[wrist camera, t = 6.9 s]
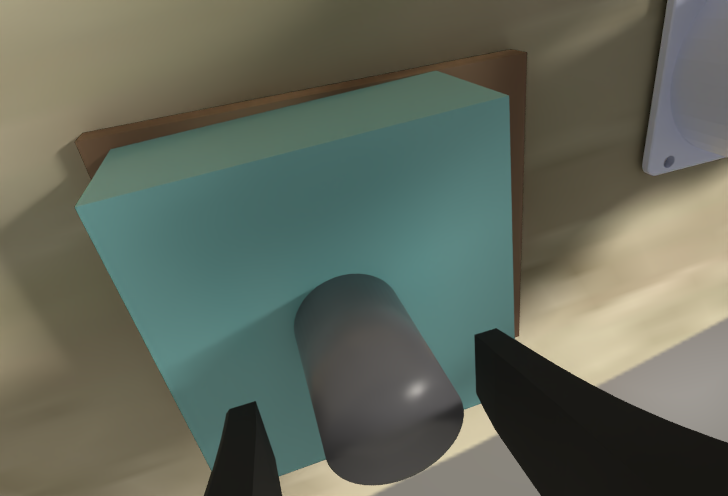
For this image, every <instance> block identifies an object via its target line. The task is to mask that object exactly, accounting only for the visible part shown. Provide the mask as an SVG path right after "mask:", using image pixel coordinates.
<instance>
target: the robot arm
mask: <svg viewBox="0 0 728 496" xmlns="http://www.w3.org/2000/svg"><path fill="white" fill-rule="evenodd" d="M725 157H728V0H668V1H667V7H666V14H665V20H664V27H663V33H662V40H661V46H660V53H659V59H658V66H657V72H656V79H655V85H654V92H653V98H652V105H651V111H650V118H649V124H648V131H647V137H646V144H645V150H644V156H643V163H642V169H643V171H644V172H645V173H647V174H650V175H652V176H655V175H660V174H664V173H668V172H671V171H675V170H679V169H683V168H687V167H691V166H695V165H698V164H702V163H706V162H710V161H714V160H718V159H722V158H725ZM666 158H667V159H666ZM665 160H666V161H665ZM664 161H665V162H664ZM474 340H475V375H476V394H477V396H478V398H479V400H480V402H481V404H482V406H483V408H484V410H485V412H486V414H487V415H488V417H489V419H490V421H491V423H492V425H493V426H494V428H495V430H496V431H497V433H498V434H499V436H500V437H501V439H502V440H503V442H504V443H505V445H506V446H507V447H508V449H509V450H510V452H511V453H512V455H513V456H514V458H515V459H516V460H517V462H518V463H519V465H520V466H521V468H522V469H523V470H524V472H525V473H526V475H527V476H528V478H529V479H530V480H531V482H532V483H533V485H534V486H535V488H536V489H537V491H538V492H539V493H540V495H541V496H728V443H727V442H724V441H721V440H718V439H715V438H713V437H709V436H707V435H704V434H702V433H699V432H696V431H694V430H691V429H688V428H685V427H683V426H680V425H678V424H675V423H673V422H670V421H668V420H665V419H663V418H661V417H658V416H656V415H654V414H652V413H649V412H647V411H645V410H642V409H640V408H638V407H636V406H633V405H631V404H629V403H627V402H624V401H623V400H621V399H618V398H616V397H614V396H613V395H611V394H609V393H607V392H605V391H603V390H601V389H599V388H597V387H595V386H593V385H591V384H589V383H588V382H586V381H584V380H582V379H580V378H578V377H577V376H575V375H573V374H571V373H570V372H568V371H566V370H564V369H563V368H561V367H559V366H557V365H556V364H554V363H552V362H551V361H549V360H547V359H546V358H544V357H542V356H541V355H539V354H538V353H536V352H534V351H533V350H531V349H529V348H528V347H526V346H525V345H523V344H521V343H520V342H518V341H517V340H515V339H513V338H512V337H510V336H509V335H507V334H505V333H504V332H502V331H500V330H499V329H497V328H495V329H492V330H488V331H485V332H482V333H478V334H475V335H474ZM204 496H282V492H281V487H280V481H279V476H278V470H277V465H276V459H275V456H274V453H273V450H272V447H271V444H270V441H269V438H268V435H267V432H266V430H265V427H264V424H263V421H262V418H261V415H260V412H259V409H258V406H257V403H256V401H254V402H251V403H247V404H244V405H241V406H237V407H234V408H231V409H229V410H228V412H227V413H226V417H225V422H224V427H223V432H222V436H221V440H220V444H219V448H218V452H217V455H216V459H215V462H214V466H213V469H212V472H211V475H210V478H209V481H208V485H207V488H206V491H205V494H204Z"/></svg>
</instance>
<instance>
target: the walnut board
mask: <svg viewBox="0 0 728 496" xmlns="http://www.w3.org/2000/svg"><path fill="white" fill-rule="evenodd" d="M432 71H439V72H442V73H445V74H448V75H451V76H454V77H457V78H459V79H462V80H465V81H468V82H471V83H474V84H477V85H480V86H483V87H486V88H489V89H491V90H494V91H497V92H500V93H503V94H506V95H509V111H510V156H511V200H512V244H513V288H514V332H515V337H518V336H519V317H520V282H521V247H522V212H523V177H524V142H525V107H526V72H527V52H523V51H517V50H512V49H510V50H505V51H500V52H495V53H490V54H484V55H479V56H474V57H469V58H464V59H459V60H454V61H449V62H443V63H438V64H433V65H428V66H423V67H418V68H413V69H408V70H402V71H397V72H392V73H387V74H382V75H377V76H372V77H367V78H361V79H356V80H351V81H346V82H341V83H336V84H331V85H326V86H321V87H315V88H310V89H305V90H300V91H295V92H290V93H285V94H280V95H274V96H269V97H264V98H259V99H254V100H249V101H244V102H239V103H233V104H228V105H223V106H218V107H213V108H208V109H203V110H198V111H192V112H187V113H182V114H177V115H172V116H167V117H162V118H157V119H151V120H146V121H141V122H136V123H131V124H126V125H121V126H116V127H111V128H105V129H100V130H95V131H90V132H85V133H82V134H81V135H80V136H79V138H78V139H77V140H76V141H75V144H76V146H77V148H78V150H79V153H80V155H81V157H82V160H83V162H84V164H85V167H86V169H87V171H88V173H89V176H90V178H91V180H92V178H93V177H94V175H95V173H96V172H97V170H98V169H99V167H100V165H101V164H102V162H103V161H104V159H105V157H106V156H107V154H108V153H109V151H110V149H114V148H118V147H122V146H126V145H130V144H134V143H139V142H143V141H147V140H151V139H155V138H159V137H163V136H167V135H172V134H176V133H180V132H184V131H188V130H192V129H196V128H201V127H205V126H209V125H213V124H217V123H221V122H225V121H229V120H234V119H238V118H242V117H246V116H250V115H254V114H258V113H263V112H267V111H271V110H275V109H279V108H283V107H287V106H291V105H296V104H300V103H304V102H308V101H312V100H316V99H320V98H325V97H329V96H333V95H337V94H341V93H345V92H349V91H353V90H358V89H362V88H366V87H370V86H374V85H378V84H382V83H387V82H391V81H395V80H399V79H403V78H407V77H411V76H415V75H420V74H424V73H428V72H432Z"/></svg>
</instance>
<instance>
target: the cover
mask: <svg viewBox="0 0 728 496" xmlns="http://www.w3.org/2000/svg"><path fill="white" fill-rule="evenodd" d="M75 209H76V211H77V213H78V215H79V217H80V219H81V221H82V223H83V225H84V227H85V229H86V230H87V232H88V234H89V236H90V238H91V240H92V242H93V244H94V246H95V248H96V250H97V252H98V254H99V255H100V257H101V259H102V261H103V263H104V265H105V267H106V269H107V271H108V273H109V275H110V277H111V279H112V281H113V282H114V284H115V286H116V288H117V290H118V292H119V294H120V296H121V298H122V300H123V302H124V304H125V306H126V307H127V309H128V311H129V313H130V315H131V317H132V319H133V321H134V323H135V325H136V327H137V329H138V331H139V332H140V334H141V336H142V338H143V340H144V342H145V344H146V346H147V348H148V350H149V352H150V354H151V356H152V357H153V359H154V361H155V363H156V365H157V367H158V369H159V371H160V373H161V375H162V377H163V379H164V381H165V382H166V384H167V386H168V388H169V390H170V392H171V394H172V396H173V398H174V400H175V402H176V404H177V406H178V408H179V409H180V411H181V413H182V415H183V417H184V419H185V421H186V423H187V425H188V427H189V429H190V431H191V433H192V434H193V436H194V438H195V440H196V442H197V444H198V446H199V448H200V450H201V452H202V454H203V456H204V458H205V459H206V461H207V463H208V465H209V467H210V469H211V471H212V469H213V466H214V462H215V459H216V455H217V452H218V448H219V444H220V440H221V436H222V432H223V427H224V422H225V417H226V413H227V412H228V410H229V409H231V408H234V407H237V406H241V405H244V404H247V403H251V402H254V401H256V403H257V406H258V409H259V412H260V415H261V418H262V421H263V424H264V427H265V430H266V432H267V435H268V438H269V441H270V444H271V447H272V450H273V453H274V456H275V459H276V465H277V470H278V476H281V475H284V474H287V473H290V472H292V471H295V470H298V469H301V468H304V467H306V466H309V465H312V464H315V463H317V462H320V461H323V460H327V462H328V465H329V466H330V468H331V469H332V470H333V471H334V472H335V473H336V474H337V475H338V476H340V477H341V478H343V479H345V480H347V481H349V482H352V483H356V484H362V485H383V484H389V483H393V482H398V481H401V480H404V479H406V478H409V477H411V476H413V475H415V474H417V473H419V472H421V471H423V470H425V469H426V468H428V467H429V466H431V465H432V464H433V463H435V462H436V461H437V460H438V459H439V458H441V457H442V456H443V455H444V454H445V453H446V451H447V450H448V449H449V448H450V447H451V445H452V444H453V443H454V441H455V440H456V438H457V436H458V434H459V432H460V430H461V427H462V423H463V417H464V409H467V408H470V407H473V406H475V405H478V404H481V402H480V400H479V398H478V396H477V394H476V375H475V340H474V335H475V334H478V333H482V332H485V331H488V330H492V329H495V328H497V329H499V330H500V331H502V332H504V333H505V334H507V335H509V336H510V337H512V338H513V339H515V332H514V288H513V244H512V200H511V156H510V111H509V95H506V94H503V93H500V92H497V91H494V90H491V89H489V88H486V87H483V86H480V85H477V84H474V83H471V82H468V81H465V80H462V79H459V78H457V77H454V76H451V75H448V74H445V73H442V72H439V71H432V72H428V73H424V74H420V75H415V76H411V77H407V78H403V79H399V80H395V81H391V82H387V83H382V84H378V85H374V86H370V87H366V88H362V89H358V90H353V91H349V92H345V93H341V94H337V95H333V96H329V97H325V98H320V99H316V100H312V101H308V102H304V103H300V104H296V105H291V106H287V107H283V108H279V109H275V110H271V111H267V112H263V113H258V114H254V115H250V116H246V117H242V118H238V119H234V120H229V121H225V122H221V123H217V124H213V125H209V126H205V127H201V128H196V129H192V130H188V131H184V132H180V133H176V134H172V135H167V136H163V137H159V138H155V139H151V140H147V141H143V142H139V143H134V144H130V145H126V146H122V147H118V148H114V149H110V151H109V153H108V154H107V156H106V157H105V159H104V161H103V162H102V164H101V165H100V167H99V169H98V170H97V172H96V173H95V175H94V177H93V178H92V180H91V181H90V183H89V185H88V186H87V188H86V189H85V191H84V193H83V194H82V196H81V198H80V199H79V201H78V202H77V204H76V206H75Z"/></svg>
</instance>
